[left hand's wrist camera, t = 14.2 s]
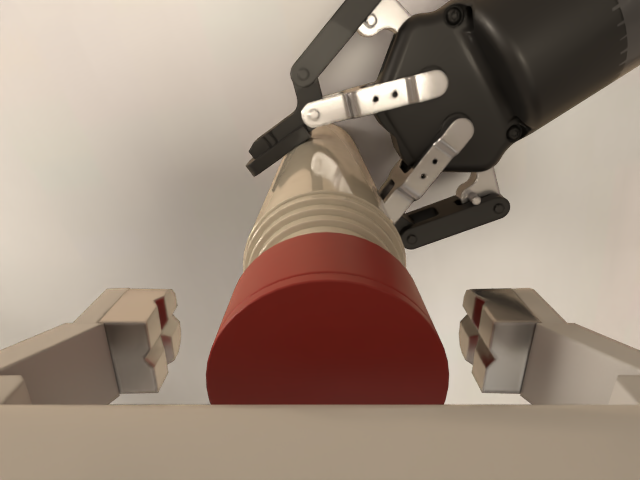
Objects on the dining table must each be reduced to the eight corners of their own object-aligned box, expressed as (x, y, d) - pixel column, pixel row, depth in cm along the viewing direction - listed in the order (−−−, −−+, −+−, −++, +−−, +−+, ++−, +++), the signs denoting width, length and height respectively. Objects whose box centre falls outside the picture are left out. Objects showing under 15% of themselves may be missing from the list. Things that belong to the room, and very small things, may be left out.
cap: (195, 274, 10) (159, 333, 8) (384, 200, 9) (404, 241, 7) (278, 415, 11) (269, 498, 9) (444, 362, 11) (476, 437, 8)
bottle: (333, 107, 27) (371, 208, 7) (371, 170, 29) (492, 400, 9) (271, 148, 28) (150, 341, 8) (311, 207, 30) (294, 492, 10)
